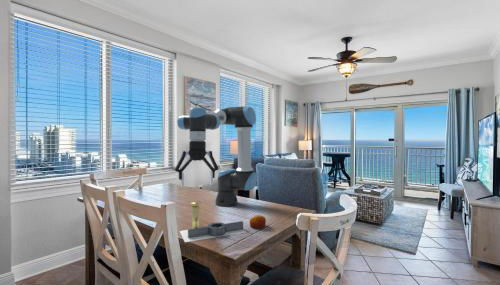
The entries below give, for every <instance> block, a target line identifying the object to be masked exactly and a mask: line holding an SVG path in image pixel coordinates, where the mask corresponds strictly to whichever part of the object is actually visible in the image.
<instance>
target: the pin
mask: <svg viewBox="0 0 500 285" xmlns="http://www.w3.org/2000/svg"><path fill="white" fill-rule="evenodd" d="M190 206H191V229H192V228H199V227H200V206H201V202H200V201H190Z"/></svg>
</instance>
